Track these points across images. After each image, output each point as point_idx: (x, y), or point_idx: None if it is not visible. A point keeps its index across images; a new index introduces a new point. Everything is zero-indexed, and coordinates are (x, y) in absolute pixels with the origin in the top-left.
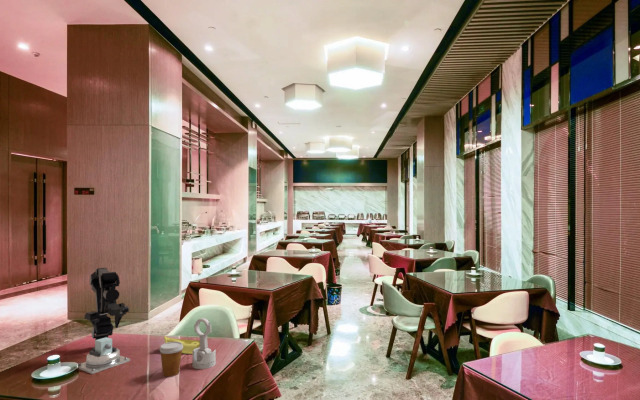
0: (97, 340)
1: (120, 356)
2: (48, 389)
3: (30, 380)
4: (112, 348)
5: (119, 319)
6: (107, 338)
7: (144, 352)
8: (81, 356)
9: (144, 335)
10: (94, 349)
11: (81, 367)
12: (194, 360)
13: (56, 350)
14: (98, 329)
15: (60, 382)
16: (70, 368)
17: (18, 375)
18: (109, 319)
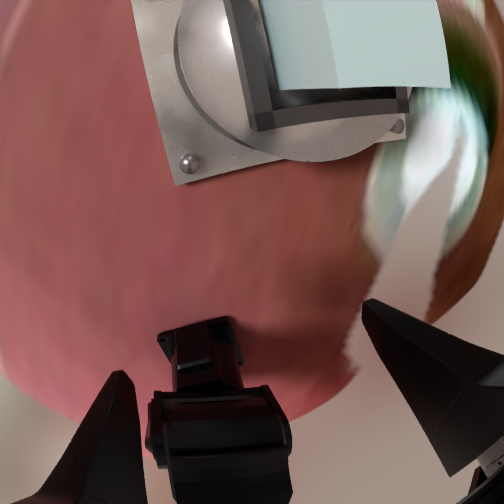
0: (441, 55)
1: (156, 68)
2: (484, 9)
3: (497, 142)
4: (251, 9)
5: (76, 465)
6: (347, 15)
7: (6, 105)
8: (315, 289)
9: (18, 383)
10: (377, 108)
11: None
12: None
13: (334, 394)
14: (391, 321)
15: (462, 22)
16: (411, 142)
17: (489, 222)
18: (185, 498)
